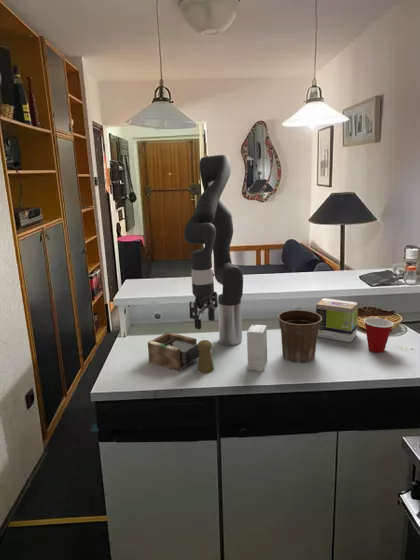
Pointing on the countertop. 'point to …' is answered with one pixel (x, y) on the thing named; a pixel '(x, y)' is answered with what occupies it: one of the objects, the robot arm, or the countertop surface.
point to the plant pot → (299, 334)
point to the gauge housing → (167, 351)
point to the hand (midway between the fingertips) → (205, 324)
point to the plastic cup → (377, 333)
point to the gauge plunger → (185, 350)
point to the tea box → (337, 319)
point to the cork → (205, 357)
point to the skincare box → (257, 347)
